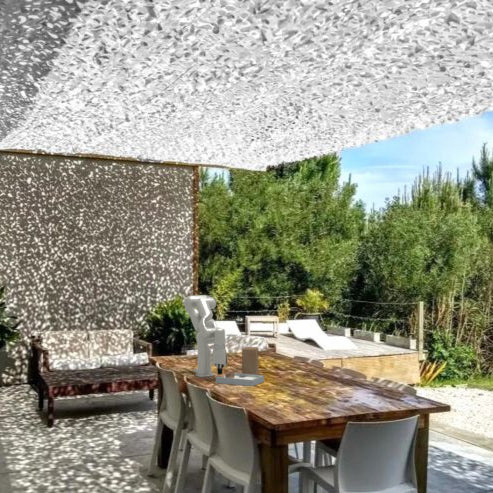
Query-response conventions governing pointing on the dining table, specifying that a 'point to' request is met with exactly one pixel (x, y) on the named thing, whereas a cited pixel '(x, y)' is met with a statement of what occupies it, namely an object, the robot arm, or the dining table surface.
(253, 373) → the block
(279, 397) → the dining table surface
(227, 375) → the walnut block
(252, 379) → the trap box
